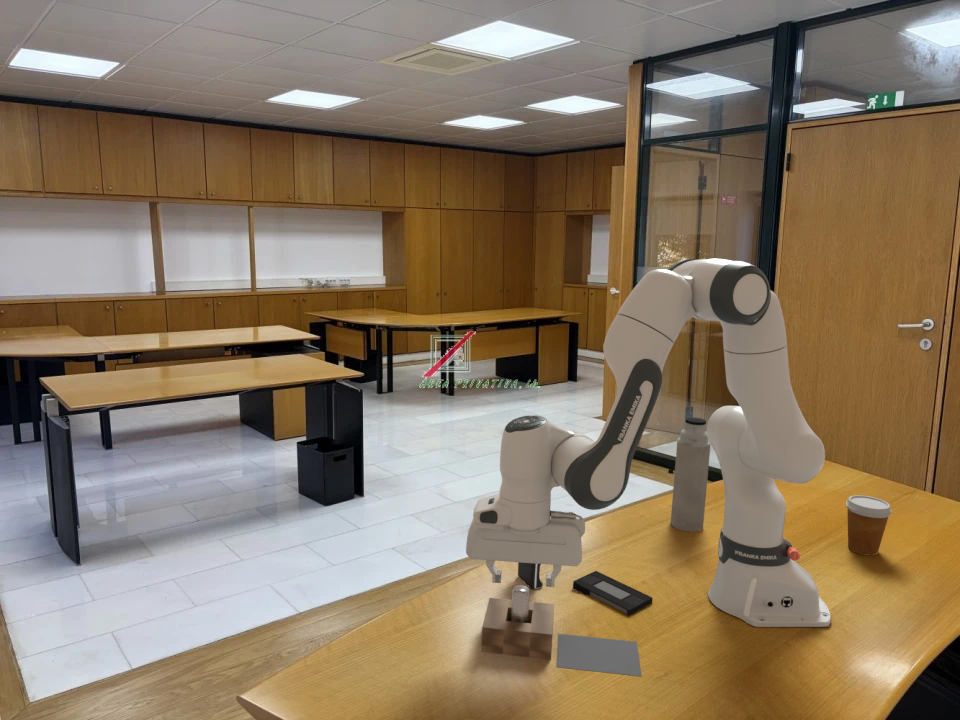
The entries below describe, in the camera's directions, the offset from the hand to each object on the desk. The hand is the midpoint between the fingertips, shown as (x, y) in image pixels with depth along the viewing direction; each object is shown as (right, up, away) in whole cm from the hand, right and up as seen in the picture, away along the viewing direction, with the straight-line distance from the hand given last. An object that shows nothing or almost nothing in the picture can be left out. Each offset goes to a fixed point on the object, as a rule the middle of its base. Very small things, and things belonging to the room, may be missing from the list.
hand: (523, 583), depth 122 cm
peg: (-1, -11, +2) cm, 11 cm away
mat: (+13, -12, -2) cm, 18 cm away
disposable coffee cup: (+84, -6, +43) cm, 94 cm away
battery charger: (+3, -7, +23) cm, 24 cm away
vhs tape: (+19, -9, +18) cm, 28 cm away
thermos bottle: (+45, -3, +54) cm, 71 cm away
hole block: (-1, -11, +2) cm, 11 cm away
